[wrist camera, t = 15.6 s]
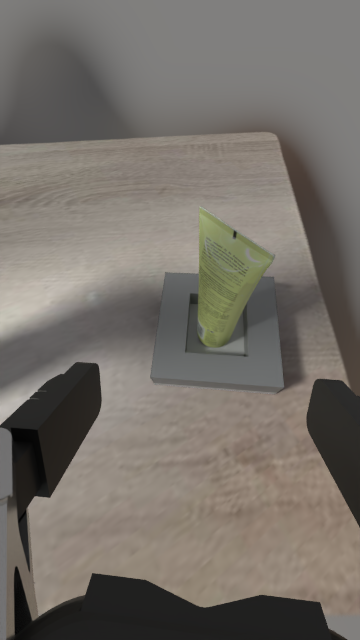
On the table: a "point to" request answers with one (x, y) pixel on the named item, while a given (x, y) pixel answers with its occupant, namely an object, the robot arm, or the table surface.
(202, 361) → the holder
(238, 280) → the tube
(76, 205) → the table surface
